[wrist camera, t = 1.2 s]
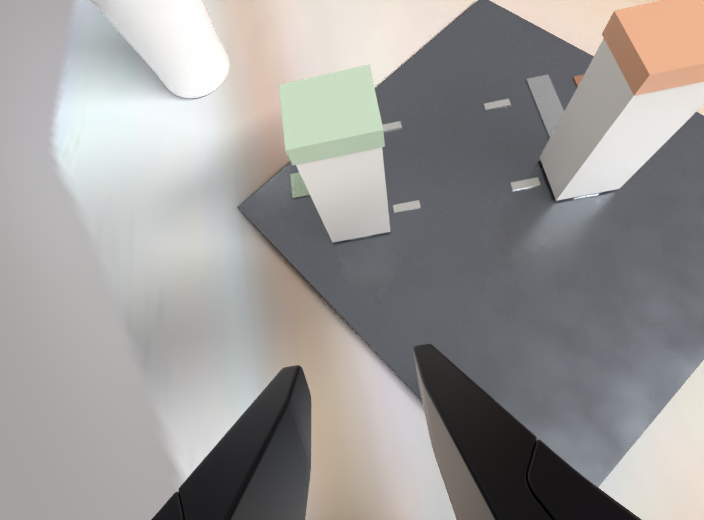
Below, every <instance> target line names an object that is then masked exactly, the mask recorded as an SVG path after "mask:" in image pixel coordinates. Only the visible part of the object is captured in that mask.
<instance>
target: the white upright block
mask: <svg viewBox="0 0 704 520" xmlns="http://www.w3.org/2000/svg"><path fill="white" fill-rule="evenodd" d="M279 92H280V102H281V112H282V122H283V132H284V142H285V151H286V153H287V155H288V157H289V159H290V161H291V163H292V165H296V166H297V168H298V171H299V173H300V175H301V177H302V179H303V181H304V183H305V185H306V187H307V190H308V192H309V194H310V196H311V198H312V200H313V202H314V204H315V207H316V209H317V211H318V213H319V215H320V217H321V219H322V221H323V224H324V226H325V228H326V230H327V232H328V234H329V236H330V238H331V240H332V243H333V242H338V241H344V240H349V239H354V238H360V237H365V236H370V235H376V234H381V233H386V232H390V222H389V211H388V201H387V191H386V181H385V171H384V161H383V151H382V147H385V142H384V131H383V126H382V121H381V116H380V112H379V107H378V102H377V98H376V93H375V88H374V83H373V79H372V74H371V69H370V65H366V66H362V67H357V68H352V69H348V70H343V71H339V72H334V73H330V74H325V75H321V76H316V77H312V78H307V79H303V80H298V81H294V82H289V83H285V84H280V85H279Z"/></svg>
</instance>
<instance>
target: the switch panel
mask: <svg viewBox="0 0 704 520" xmlns="http://www.w3.org/2000/svg"><path fill="white" fill-rule="evenodd" d="M593 58H594V57H593V56H592V55H590V54H588V53H586V52H584V51H582V50H580V49H579V48H577V47H575V46H573V45H571V44H569V43H567V42H566V41H564V40H562V39H560V38H558V37H556V36H554V35H553V34H551V33H549V32H547V31H545V30H543V29H541V28H540V27H538V26H536V25H534V24H532V23H530V22H528V21H527V20H525V19H523V18H521V17H519V16H517V15H515V14H514V13H512V12H510V11H508V10H506V9H504V8H502V7H501V6H499V5H497V4H495V3H493V2H491V1H489V0H478V1H477V2H476V3H475V4H474V5H472V6H471V7H470V8H469V9H468V10H467V11H465V12H464V13H463V14H462V15H461V16H460V17H459V18H457V19H456V20H455V21H454V22H453V23H452V24H450V25H449V26H448V27H447V28H446V29H445V30H443V31H442V32H441V33H440V34H439V35H438V36H436V37H435V38H434V39H433V40H432V41H431V42H429V43H428V44H427V45H426V46H425V47H424V48H423V49H421V50H420V51H419V52H418V53H417V54H416V55H414V56H413V57H412V58H411V59H410V60H409V61H407V62H406V63H405V64H404V65H403V66H402V67H400V68H399V69H398V70H397V71H396V72H395V73H393V74H392V75H391V76H390V77H389V78H388V79H386V80H385V81H384V82H383V83H382V84H381V85H380V86H378V87H377V88H376V89H375V93H376V98H377V102H378V107H379V112H380V116H381V121H382V126H383V131H384V142H385V147H382V151H383V161H384V171H385V181H386V191H387V201H388V211H389V222H390V232H386V233H381V234H376V235H370V236H365V237H360V238H354V239H349V240H344V241H338V242H333V243H332V240H331V238H330V236H329V234H328V232H327V230H326V228H325V226H324V224H323V221H322V219H321V217H320V215H319V213H318V211H317V209H316V207H315V204H314V202H313V200H312V198H311V196H310V194H309V192H308V190H307V187H306V185H305V183H304V181H303V179H302V177H301V175H300V173H299V171H298V168H297V166H296V165H292V163H291V162H290V163H289V164H288V165H287V166H285V167H284V168H283V169H282V170H281V171H280V172H278V173H277V174H276V175H275V176H274V177H273V178H271V179H270V180H269V181H268V182H267V183H266V184H265V185H263V186H262V187H261V188H260V189H259V190H258V191H256V192H255V193H254V194H253V195H252V196H251V197H249V198H248V199H247V200H246V201H245V202H244V203H242V204H241V205H240V206H239V207H238V208H239V209H240V210H241V212H242V213H243V214H244V215H245V216H246V217H247V218H248V219H249V220H250V221H251V222H252V223H253V224H254V225H255V226H256V227H257V228H258V229H259V230H260V231H261V232H262V234H263V235H264V236H265V237H266V238H267V239H268V240H269V241H270V242H271V243H272V244H273V245H274V246H275V247H276V248H277V249H278V250H279V251H280V252H281V253H282V254H283V255H284V257H285V258H286V259H287V260H288V261H289V262H290V263H291V264H292V265H293V266H294V267H295V268H296V269H297V270H298V271H299V272H300V273H301V274H302V275H303V276H304V277H305V279H306V280H307V281H308V282H309V283H310V284H311V285H312V286H313V287H314V288H315V289H316V290H317V291H318V292H319V293H320V294H321V295H322V296H323V297H324V298H325V299H326V300H327V302H328V303H329V304H330V305H331V306H332V307H333V308H334V309H335V310H336V311H337V312H338V313H339V314H340V315H341V316H342V317H343V318H344V319H345V320H346V321H347V322H348V324H349V325H350V326H351V327H352V328H353V329H354V330H355V331H356V332H357V333H358V334H359V335H360V336H361V337H362V338H363V339H364V340H365V341H366V342H367V343H368V344H369V345H370V347H371V348H372V349H373V350H374V351H375V352H376V353H377V354H378V355H379V356H380V357H381V358H382V359H383V360H384V361H385V362H386V363H387V364H388V365H389V366H390V367H391V369H392V370H393V371H394V372H395V373H396V374H397V375H398V376H399V377H400V378H401V379H402V380H403V381H404V382H405V383H406V384H407V385H408V386H409V387H410V388H411V389H412V390H413V392H414V393H415V394H416V395H417V396H418V397H419V398H420V399H421V400H422V397H421V393H420V388H419V383H418V378H417V372H416V366H415V360H414V354H413V347H414V346H417V345H423V344H432V345H433V346H434V347H435V348H436V349H437V350H439V351H440V352H441V353H442V354H443V355H444V356H445V357H447V358H448V359H449V360H450V361H451V362H452V363H453V364H455V365H456V366H457V367H458V368H459V369H460V370H461V371H462V372H464V373H465V374H466V375H467V376H468V377H469V378H470V379H472V380H473V381H474V382H475V383H476V384H477V385H478V386H480V387H481V388H482V389H483V390H484V391H485V392H486V393H487V394H489V395H490V396H491V397H492V398H493V399H494V400H495V401H497V402H498V403H499V404H500V405H501V406H502V407H503V408H505V409H506V410H507V411H508V412H509V413H510V414H511V415H513V416H514V417H515V418H516V419H517V420H518V421H519V422H520V423H522V424H523V425H524V426H525V427H526V428H527V429H528V430H530V431H531V432H532V433H533V434H534V435H535V436H536V437H537V440H541V441H542V442H543V443H545V444H546V445H547V446H548V447H549V448H550V449H551V450H552V451H554V452H555V453H556V454H557V455H558V456H559V457H561V458H562V459H563V460H564V461H565V462H567V463H568V464H569V465H570V466H571V467H573V468H574V469H575V470H576V471H577V472H579V473H580V474H581V475H582V476H584V477H585V478H586V479H587V480H589V481H590V482H591V483H593V484H594V485H595V486H597V487H599V485H600V484H601V483H602V482H603V481H604V479H605V478H606V477H607V476H608V475H609V473H610V472H611V471H612V470H613V468H614V467H615V466H616V465H617V464H618V462H619V461H620V460H621V459H622V458H623V456H624V455H625V454H626V453H627V452H628V450H629V449H630V448H631V447H632V446H633V444H634V443H635V442H636V441H637V439H638V438H639V437H640V436H641V435H642V433H643V432H644V431H645V430H646V429H647V427H648V426H649V425H650V424H651V423H652V421H653V420H654V419H655V418H656V417H657V415H658V414H659V413H660V412H661V411H662V409H663V408H664V407H665V406H666V404H667V403H668V402H669V401H670V400H671V398H672V397H673V396H674V395H675V394H676V392H677V391H678V390H679V389H680V388H681V386H682V385H683V384H684V383H685V382H686V380H687V379H688V378H689V377H690V376H691V374H692V373H693V372H694V371H695V369H696V368H697V367H698V366H699V365H700V363H701V362H702V361H703V360H704V116H703V115H701V114H700V113H698V112H696V113H695V114H694V115H693V116H692V117H691V118H690V119H689V120H688V121H687V122H686V123H685V124H684V125H683V126H682V127H681V128H680V129H679V130H678V131H677V132H676V133H675V134H674V135H673V136H672V137H671V138H670V139H669V140H668V141H667V142H666V143H665V144H664V145H663V146H662V147H661V148H660V149H659V150H658V151H657V152H656V153H655V154H654V155H653V156H652V157H651V158H650V159H649V160H648V161H647V162H646V163H645V164H644V165H643V166H642V167H641V168H640V169H639V170H638V171H637V172H636V173H635V174H634V175H633V176H632V177H631V178H630V179H629V180H628V181H627V182H626V183H625V184H624V185H623V186H622V187H621V188H620V189H616V190H611V191H605V192H600V193H595V194H589V195H584V196H579V197H573V198H568V199H563V200H557V201H556V199H555V197H554V194H553V191H552V189H551V186H550V183H549V181H548V178H547V176H546V173H545V170H544V168H543V165H542V162H541V160H540V155H541V154H542V152H543V150H544V148H545V146H546V144H547V142H548V141H549V139H550V137H551V135H552V133H553V131H554V130H555V128H556V126H557V124H558V122H559V120H560V118H561V117H562V115H563V113H564V111H565V109H566V107H567V106H568V104H569V102H570V100H571V98H572V96H573V94H574V93H575V91H576V89H577V87H578V85H579V83H580V82H581V80H582V78H583V76H584V74H585V72H586V70H587V69H588V67H589V65H590V63H591V61H592V59H593Z"/></svg>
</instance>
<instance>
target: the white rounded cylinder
mask: <svg viewBox="0 0 704 520" xmlns="http://www.w3.org/2000/svg"><path fill="white" fill-rule="evenodd" d="M90 1H91V2H92V3H93V4H94V6H95V7H96V8H97V9H98V10H99V11H100V12H101V13H102V14H103V15H104V16H105V18H106V19H107V20H108V21H109V22H110V23H111V24H112V25H113V26H114V27H115V29H116V30H117V31H118V32H119V33H120V34H121V35H122V36H123V37H124V39H125V40H126V41H127V42H128V43H129V44H130V45H131V46H132V47H133V48H134V50H135V51H136V52H137V53H138V54H139V55H140V56H141V57H142V58H143V60H144V61H145V62H146V63H147V64H148V65H149V66H150V67H151V69H152V70H153V71H154V72H155V73H156V75H157V76H158V77H159V79H160V80H161V81H162V82H163V84H164V85H165V86H166V87H167V89H168V90H170V91H171V92H172V93H173V94H175V95H177V96H179V97H183V98H199V97H202V96H205V95H208V94H210V93H212V92H213V91H215V90H216V89H217V88H218V87H219V86H221V84H222V83H223V82H224V81H225V79H226V77H227V75H228V73H229V68H230V61H229V56H228V54H227V51H226V49H225V47H224V45H223V43H222V42H221V40H220V38H219V36H218V34H217V31H216V29H215V27H214V24H213V22H212V20H211V17H210V15H209V12H208V10H207V8H206V5H205V3H204V1H203V0H90Z"/></svg>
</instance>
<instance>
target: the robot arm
mask: <svg viewBox="0 0 704 520" xmlns="http://www.w3.org/2000/svg"><path fill="white" fill-rule="evenodd" d="M413 354H414V360H415V366H416V372H417V378H418V383H419V388H420V393H421V397H422V402H423V407H424V411H425V416H426V421H427V425H428V430H429V435H430V439H431V443H432V447H433V451H434V454H435V457H436V460H437V463H438V466H439V469H440V472H441V475H442V478H443V481H444V484H445V487H446V489H447V492H448V495H449V498H450V501H451V504H452V507H453V510H454V513H455V516H456V519H457V520H641V519H640V518H639V517H637V516H636V515H634V514H633V513H632V512H630V511H629V510H628V509H626V508H625V507H623V506H622V505H621V504H619V503H618V502H617V501H615V500H614V499H613V498H611V497H610V496H609V495H607V494H606V493H605V492H603V491H602V490H601V489H599V488H598V487H597V486H595V485H594V484H593V483H591V482H590V481H589V480H587V479H586V478H585V477H584V476H582V475H581V474H580V473H579V472H577V471H576V470H575V469H574V468H573V467H571V466H570V465H569V464H568V463H567V462H565V461H564V460H563V459H562V458H561V457H559V456H558V455H557V454H556V453H555V452H554V451H552V450H551V449H550V448H549V447H548V446H547V445H546V444H545V443H543V442H542V441H541V440H537V437H536V436H535V435H534V434H533V433H532V432H531V431H530V430H528V429H527V428H526V427H525V426H524V425H523V424H522V423H520V422H519V421H518V420H517V419H516V418H515V417H514V416H513V415H511V414H510V413H509V412H508V411H507V410H506V409H505V408H503V407H502V406H501V405H500V404H499V403H498V402H497V401H495V400H494V399H493V398H492V397H491V396H490V395H489V394H487V393H486V392H485V391H484V390H483V389H482V388H481V387H480V386H478V385H477V384H476V383H475V382H474V381H473V380H472V379H470V378H469V377H468V376H467V375H466V374H465V373H464V372H462V371H461V370H460V369H459V368H458V367H457V366H456V365H455V364H453V363H452V362H451V361H450V360H449V359H448V358H447V357H445V356H444V355H443V354H442V353H441V352H440V351H439V350H437V349H436V348H435V347H434V346H433V345H432V344H423V345H417V346H414V347H413ZM310 470H311V395H310V391H309V388H308V384H307V381H306V378H305V375H304V372H303V369H302V367H301V366H299V365H297V366H290V367H285V368H283V369H282V370H281V371H280V372H279V373H278V374H277V375H276V376H275V378H274V379H273V380H272V381H271V382H270V383H269V385H268V386H267V387H266V388H265V389H264V390H263V392H262V393H261V394H260V395H259V396H258V397H257V398H256V400H255V401H254V402H253V403H252V404H251V405H250V407H249V408H248V409H247V410H246V411H245V412H244V414H243V415H242V416H241V417H240V418H239V419H238V420H237V422H236V423H235V424H234V425H233V426H232V427H231V429H230V430H229V431H228V432H227V433H226V434H225V436H224V437H223V438H222V439H221V440H220V441H219V442H218V444H217V445H216V446H215V447H214V448H213V449H212V451H211V452H210V453H209V454H208V455H207V456H206V458H205V459H204V460H203V461H202V462H201V463H200V465H199V466H198V467H197V468H196V469H195V470H194V471H193V473H192V474H191V475H190V476H189V477H188V478H187V480H186V481H185V482H184V483H183V484H182V485H181V487H180V488H179V492H176V493H174V494H173V496H172V497H171V498H170V499H169V500H168V501H167V503H166V504H165V505H164V506H163V507H162V508H161V509H160V511H159V512H158V513H157V514H156V515H155V516H154V517H153V518H152V520H305V515H306V506H307V498H308V489H309V481H310Z"/></svg>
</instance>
